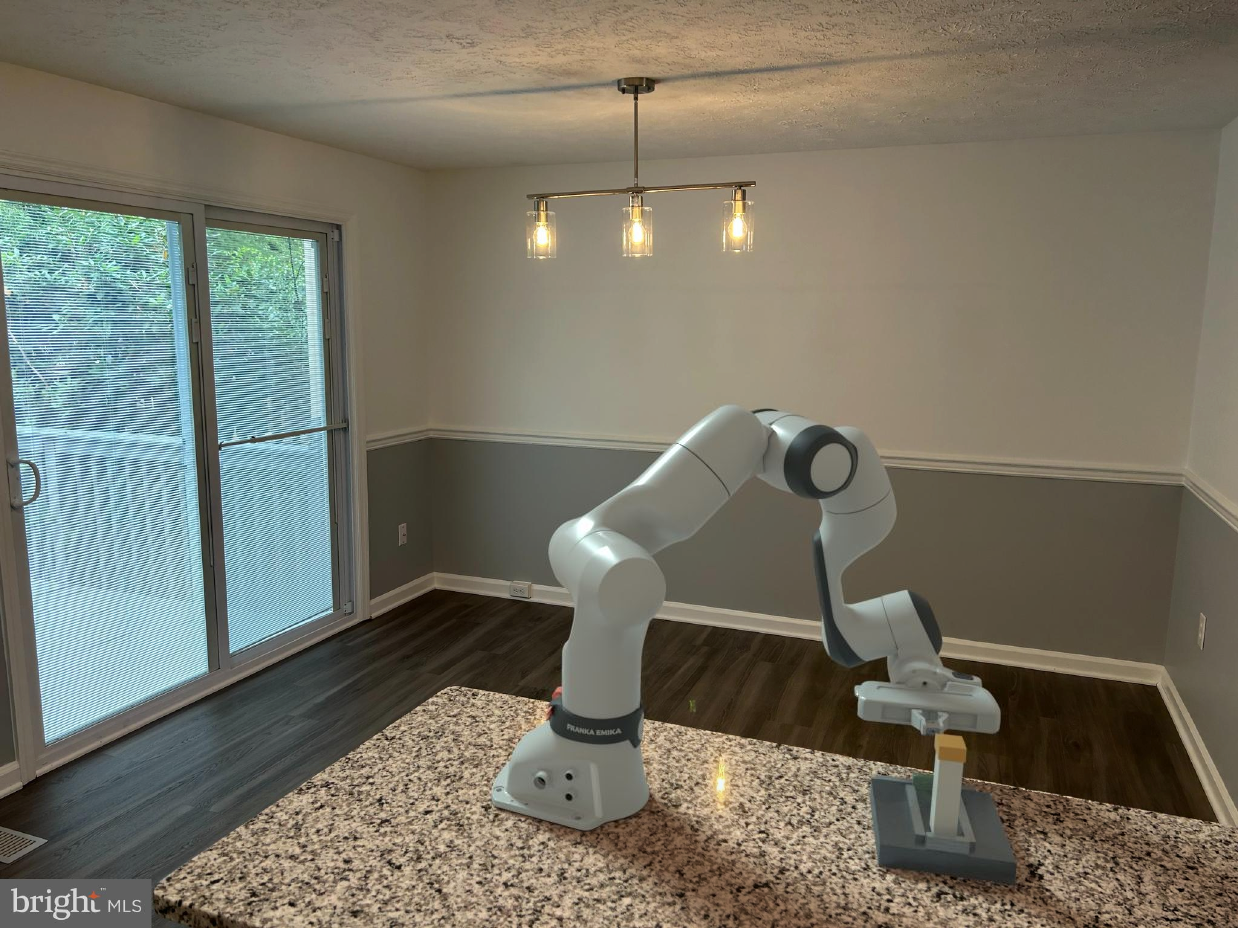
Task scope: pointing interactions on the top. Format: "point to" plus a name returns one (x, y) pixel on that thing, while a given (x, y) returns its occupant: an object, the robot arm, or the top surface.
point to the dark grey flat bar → (911, 781)
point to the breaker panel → (918, 849)
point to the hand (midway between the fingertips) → (932, 731)
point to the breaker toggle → (947, 783)
